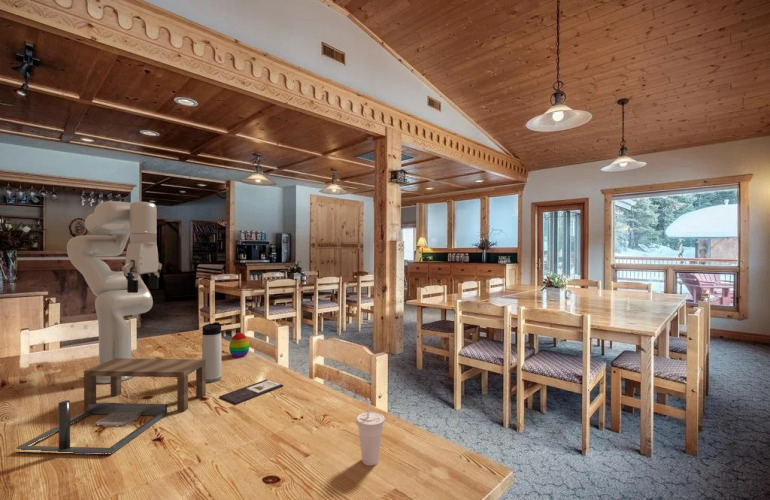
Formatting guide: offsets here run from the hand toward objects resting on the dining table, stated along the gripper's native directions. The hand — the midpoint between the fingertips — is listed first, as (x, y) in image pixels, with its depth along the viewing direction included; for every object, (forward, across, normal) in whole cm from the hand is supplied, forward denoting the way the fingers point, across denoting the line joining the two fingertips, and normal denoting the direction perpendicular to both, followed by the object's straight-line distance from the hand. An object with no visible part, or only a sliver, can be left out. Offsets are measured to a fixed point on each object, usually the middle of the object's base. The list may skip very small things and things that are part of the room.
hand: (143, 290), depth 124 cm
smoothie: (+32, +37, +80) cm, 94 cm away
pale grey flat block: (+34, +22, +9) cm, 41 cm away
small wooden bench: (+33, +10, +8) cm, 35 cm away
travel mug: (+33, -10, +18) cm, 39 cm away
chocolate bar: (+34, 0, +37) cm, 50 cm away
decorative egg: (+33, -39, +15) cm, 54 cm away
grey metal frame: (+33, +28, +9) cm, 44 cm away
